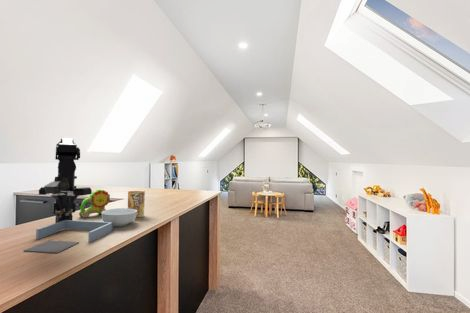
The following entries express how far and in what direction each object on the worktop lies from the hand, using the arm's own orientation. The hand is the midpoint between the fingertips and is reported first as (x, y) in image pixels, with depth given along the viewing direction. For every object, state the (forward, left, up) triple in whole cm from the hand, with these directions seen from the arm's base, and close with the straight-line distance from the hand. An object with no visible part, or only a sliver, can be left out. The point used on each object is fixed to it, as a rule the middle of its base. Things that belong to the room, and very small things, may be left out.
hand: (64, 212), depth 100 cm
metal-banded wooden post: (0, 0, -2) cm, 2 cm away
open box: (-2, +10, -12) cm, 15 cm away
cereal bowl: (+7, +29, -12) cm, 32 cm away
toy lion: (-17, +45, -12) cm, 49 cm away
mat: (0, -6, -12) cm, 13 cm away
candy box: (+7, +47, -12) cm, 49 cm away
